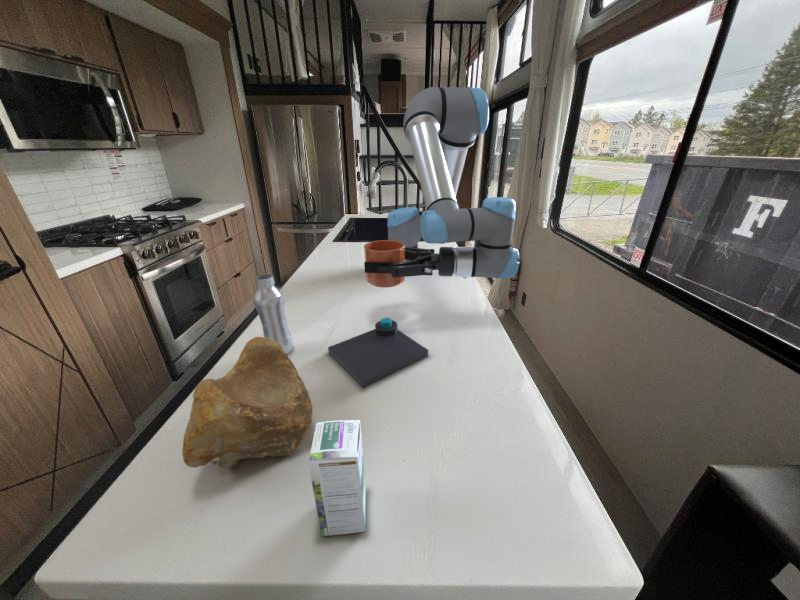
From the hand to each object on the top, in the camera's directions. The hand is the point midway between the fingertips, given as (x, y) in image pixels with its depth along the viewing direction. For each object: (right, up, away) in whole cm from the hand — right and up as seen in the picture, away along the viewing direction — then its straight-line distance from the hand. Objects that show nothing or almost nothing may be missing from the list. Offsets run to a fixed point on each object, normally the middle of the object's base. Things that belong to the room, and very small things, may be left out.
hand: (369, 259), depth 86 cm
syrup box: (+1, -40, -41) cm, 57 cm away
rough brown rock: (-15, -35, -29) cm, 47 cm away
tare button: (+4, -17, -2) cm, 18 cm away
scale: (+3, -24, -8) cm, 25 cm away
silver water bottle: (-21, -24, -6) cm, 32 cm away
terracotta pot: (+4, -6, +2) cm, 7 cm away
